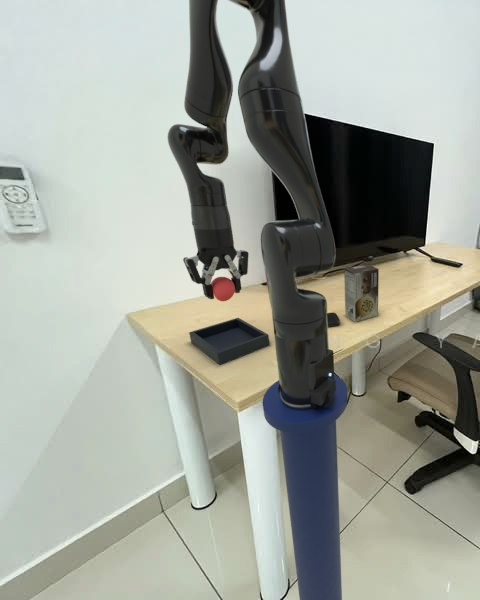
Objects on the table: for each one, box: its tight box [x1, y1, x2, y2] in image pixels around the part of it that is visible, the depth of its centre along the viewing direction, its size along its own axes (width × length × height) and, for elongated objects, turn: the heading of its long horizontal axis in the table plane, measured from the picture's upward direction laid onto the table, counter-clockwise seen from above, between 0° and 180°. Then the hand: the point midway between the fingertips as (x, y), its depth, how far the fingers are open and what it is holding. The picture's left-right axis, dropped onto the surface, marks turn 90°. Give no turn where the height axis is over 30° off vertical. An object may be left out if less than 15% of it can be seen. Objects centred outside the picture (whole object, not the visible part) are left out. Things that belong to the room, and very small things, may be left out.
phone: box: [327, 312, 341, 328], centre depth 94 cm, size 8×1×15 cm
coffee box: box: [343, 264, 380, 323], centre depth 99 cm, size 9×6×16 cm
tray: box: [188, 317, 271, 366], centre depth 80 cm, size 16×13×3 cm
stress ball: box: [210, 276, 235, 302], centre depth 76 cm, size 5×9×6 cm
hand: (224, 295), depth 77 cm, fingers closed on stress ball, 5 cm apart
